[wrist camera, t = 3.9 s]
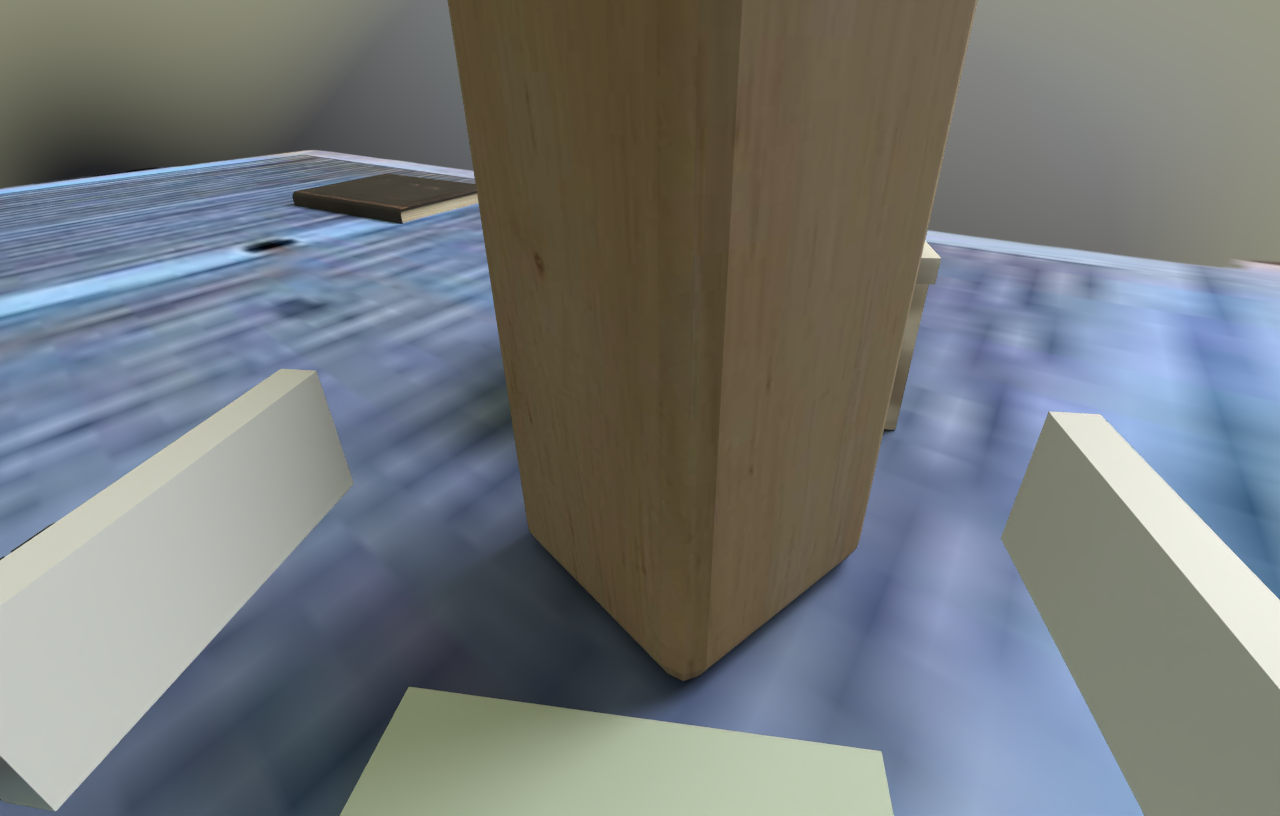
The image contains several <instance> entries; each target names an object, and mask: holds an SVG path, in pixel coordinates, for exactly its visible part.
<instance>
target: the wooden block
mask: <svg viewBox="0 0 1280 816" xmlns="http://www.w3.org/2000/svg"><path fill="white" fill-rule="evenodd" d="M977 1H978V0H448V6H449V13H450V19H451V26H452V32H453V39H454V45H455V51H456V58H457V65H458V71H459V78H460V84H461V91H462V97H463V104H464V110H465V117H466V124H467V130H468V137H469V143H470V150H471V157H472V163H473V169H474V176H475V183H476V189H477V196H478V202H479V209H480V215H481V222H482V229H483V235H484V242H485V248H486V255H487V261H488V268H489V274H490V281H491V287H492V294H493V301H494V307H495V314H496V320H497V327H498V333H499V340H500V346H501V353H502V359H503V366H504V373H505V379H506V386H507V392H508V399H509V405H510V412H511V418H512V425H513V431H514V438H515V445H516V451H517V458H518V464H519V471H520V477H521V484H522V490H523V497H524V503H525V510H526V517H527V522H528V527H529V531H530V532H531V533H532V535H533V536H534V537H535V538H536V539H537V541H538V542H539V543H540V544H541V545H542V546H543V547H544V548H545V549H546V550H547V551H548V552H549V553H550V554H551V555H552V556H553V557H554V558H555V559H556V560H557V561H558V562H559V563H560V564H561V565H562V566H563V567H564V568H565V569H566V570H567V571H568V572H569V573H570V574H571V575H572V576H573V577H574V578H575V579H576V581H577V582H578V583H579V584H580V585H581V586H582V587H583V588H584V589H585V590H586V591H587V592H588V593H589V594H590V595H591V596H592V597H593V598H594V599H595V600H596V601H597V602H598V603H599V604H600V605H601V606H602V607H603V608H604V609H605V610H606V611H607V612H608V613H609V614H610V615H611V616H612V617H613V618H614V619H615V620H616V621H617V622H618V623H619V624H620V625H621V626H622V627H623V628H624V629H625V631H626V632H627V633H628V634H629V635H630V636H631V637H632V638H633V639H634V640H635V641H636V642H637V643H638V644H639V645H640V646H641V647H642V648H643V649H644V650H645V651H646V652H647V653H648V654H649V655H650V656H651V657H652V658H653V659H654V660H655V661H656V662H657V663H658V664H659V665H660V666H661V667H662V668H663V669H664V670H665V671H666V672H667V673H668V674H670V675H672V676H674V677H676V678H678V679H680V680H682V681H685V680H688V679H691V678H694V677H697V676H700V675H701V674H702V673H703V672H705V671H706V670H707V669H708V668H710V667H711V666H712V665H713V664H715V663H716V662H717V661H718V660H720V659H721V658H722V657H723V656H725V655H726V654H727V653H728V652H730V651H731V650H732V649H733V648H735V647H736V646H737V645H738V644H740V643H741V642H742V641H743V640H745V639H746V638H747V637H748V636H750V635H751V634H752V633H753V632H755V631H756V630H757V629H758V628H760V627H761V626H762V625H763V624H765V623H766V622H767V621H768V620H770V619H771V618H772V617H773V616H775V615H776V614H777V613H778V612H780V611H781V610H782V609H783V608H785V607H786V606H787V605H788V604H790V603H791V602H792V601H793V600H795V599H796V598H797V597H798V596H800V595H801V594H802V593H803V592H805V591H806V590H807V589H808V588H810V587H811V586H812V585H813V584H815V583H816V582H817V581H818V580H820V579H821V578H822V577H823V576H825V575H826V574H827V573H828V572H830V571H831V570H832V569H833V568H835V567H836V566H837V565H838V564H840V563H841V562H842V561H843V560H845V559H846V558H847V557H848V556H849V555H850V554H851V553H852V552H853V551H854V550H855V549H856V548H857V545H858V542H859V539H860V536H861V531H862V527H863V522H864V517H865V513H866V508H867V504H868V499H869V495H870V490H871V485H872V481H873V476H874V472H875V467H876V463H877V458H878V453H879V449H880V444H881V440H882V435H883V431H884V426H885V421H886V417H887V412H888V408H889V403H890V399H891V394H892V389H893V385H894V380H895V376H896V371H897V367H898V362H899V358H900V353H901V348H902V344H903V339H904V335H905V330H906V326H907V321H908V316H909V312H910V307H911V303H912V298H913V294H914V289H915V284H916V280H917V275H918V271H919V266H920V262H921V257H922V252H923V248H924V243H925V239H926V234H927V230H928V225H929V220H930V216H931V211H932V207H933V202H934V198H935V193H936V188H937V184H938V179H939V174H940V170H941V166H942V161H943V157H944V152H945V147H946V143H947V138H948V134H949V129H950V124H951V120H952V115H953V110H954V106H955V101H956V97H957V93H958V88H959V83H960V79H961V74H962V70H963V65H964V61H965V56H966V51H967V47H968V42H969V38H970V33H971V28H972V24H973V19H974V15H975V10H976V6H977Z"/></svg>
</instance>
